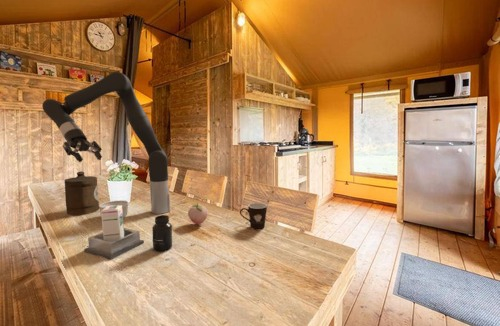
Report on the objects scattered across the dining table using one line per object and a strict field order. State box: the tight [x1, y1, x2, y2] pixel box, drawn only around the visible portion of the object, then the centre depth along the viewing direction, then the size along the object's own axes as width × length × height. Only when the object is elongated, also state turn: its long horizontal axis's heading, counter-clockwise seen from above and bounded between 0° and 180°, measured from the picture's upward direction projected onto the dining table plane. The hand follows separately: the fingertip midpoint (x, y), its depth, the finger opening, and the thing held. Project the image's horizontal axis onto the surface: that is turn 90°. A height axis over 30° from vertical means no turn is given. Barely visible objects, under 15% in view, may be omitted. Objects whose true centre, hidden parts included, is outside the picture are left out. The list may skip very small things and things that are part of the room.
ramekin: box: [99, 200, 130, 219], centre depth 126 cm, size 13×13×7 cm
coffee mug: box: [239, 202, 268, 230], centre depth 113 cm, size 12×9×10 cm
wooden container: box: [64, 171, 100, 216], centre depth 134 cm, size 15×15×22 cm
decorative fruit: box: [187, 203, 209, 225], centre depth 115 cm, size 9×8×10 cm
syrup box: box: [100, 205, 125, 242], centre depth 91 cm, size 6×6×14 cm
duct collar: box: [84, 227, 145, 260], centre depth 92 cm, size 14×14×5 cm
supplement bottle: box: [151, 214, 173, 253], centre depth 91 cm, size 7×7×12 cm
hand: (91, 159), depth 110 cm, fingers open, 8 cm apart
